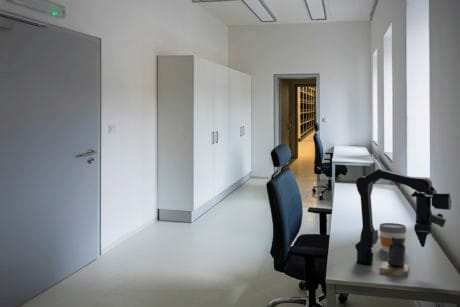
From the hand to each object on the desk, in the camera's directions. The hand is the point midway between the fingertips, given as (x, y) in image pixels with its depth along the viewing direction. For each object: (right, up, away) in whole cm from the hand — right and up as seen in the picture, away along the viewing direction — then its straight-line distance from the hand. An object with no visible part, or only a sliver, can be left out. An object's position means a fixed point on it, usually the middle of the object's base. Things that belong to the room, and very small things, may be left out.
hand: (423, 244), depth 174 cm
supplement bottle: (-10, -11, +5) cm, 15 cm away
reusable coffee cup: (0, -13, +32) cm, 34 cm away
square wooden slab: (-10, -14, +5) cm, 18 cm away
